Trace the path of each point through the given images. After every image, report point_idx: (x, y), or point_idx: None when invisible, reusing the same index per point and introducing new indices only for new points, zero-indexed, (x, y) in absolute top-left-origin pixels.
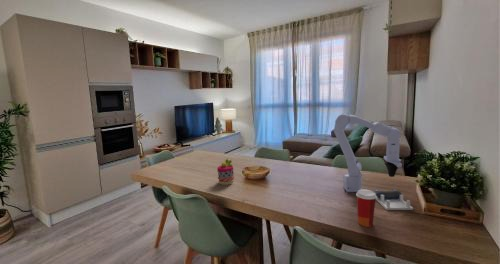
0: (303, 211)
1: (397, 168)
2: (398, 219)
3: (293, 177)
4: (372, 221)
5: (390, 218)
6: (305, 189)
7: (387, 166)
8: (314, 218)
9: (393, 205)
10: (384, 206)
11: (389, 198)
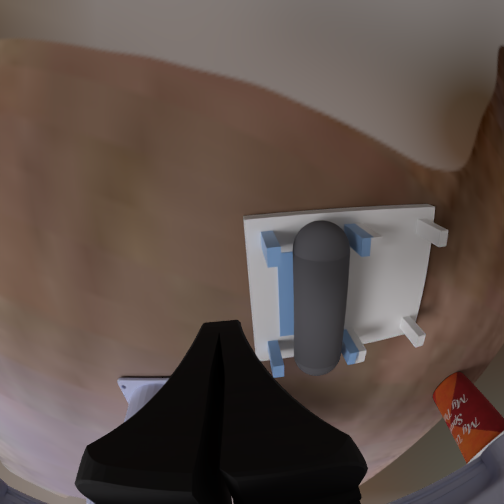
0: None
1: (301, 407)
2: (467, 299)
3: None
4: (470, 381)
5: (455, 323)
6: None
7: (228, 496)
8: (388, 461)
9: (400, 295)
10: (398, 335)
11: None
